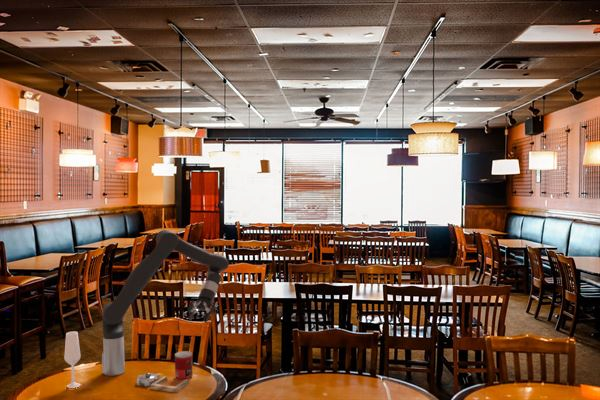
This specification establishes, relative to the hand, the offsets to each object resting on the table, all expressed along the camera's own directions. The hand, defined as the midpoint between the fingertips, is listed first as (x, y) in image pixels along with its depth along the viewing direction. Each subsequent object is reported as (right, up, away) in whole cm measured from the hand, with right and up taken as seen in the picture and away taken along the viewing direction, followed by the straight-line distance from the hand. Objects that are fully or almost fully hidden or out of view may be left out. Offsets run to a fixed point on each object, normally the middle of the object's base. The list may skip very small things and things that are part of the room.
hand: (197, 320), depth 259 cm
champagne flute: (-51, -25, -20) cm, 60 cm away
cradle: (-8, -24, -21) cm, 33 cm away
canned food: (-4, -24, -10) cm, 26 cm away
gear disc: (-19, -24, -16) cm, 35 cm away
